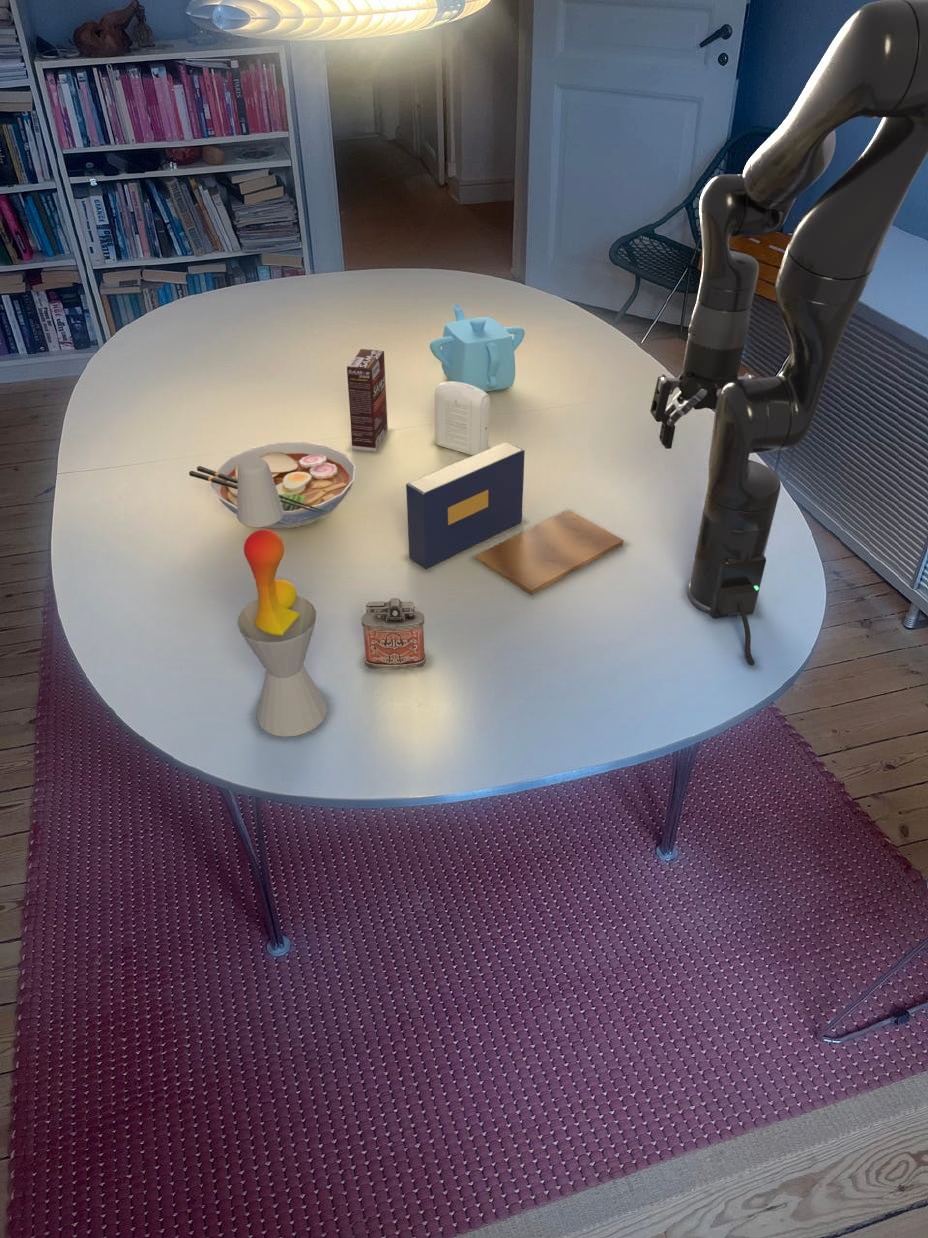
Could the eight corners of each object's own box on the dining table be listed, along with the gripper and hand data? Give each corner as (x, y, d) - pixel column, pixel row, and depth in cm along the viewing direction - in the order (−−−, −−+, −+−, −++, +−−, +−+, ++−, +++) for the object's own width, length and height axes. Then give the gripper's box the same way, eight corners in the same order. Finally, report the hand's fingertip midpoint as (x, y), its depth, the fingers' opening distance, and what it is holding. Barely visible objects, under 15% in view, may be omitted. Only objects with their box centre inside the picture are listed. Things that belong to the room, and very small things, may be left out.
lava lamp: (306, 745, 114) (268, 492, 92) (241, 726, 117) (189, 475, 95) (340, 698, 121) (313, 450, 99) (278, 680, 123) (238, 436, 102)
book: (504, 512, 156) (506, 440, 148) (522, 522, 153) (525, 449, 145) (408, 558, 145) (405, 483, 137) (425, 569, 143) (423, 494, 135)
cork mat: (567, 513, 155) (568, 509, 155) (623, 544, 148) (623, 540, 148) (476, 559, 145) (476, 555, 145) (531, 594, 138) (531, 590, 137)
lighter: (425, 653, 128) (423, 593, 121) (425, 669, 125) (423, 609, 119) (365, 654, 127) (360, 594, 121) (364, 671, 125) (359, 610, 119)
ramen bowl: (392, 502, 158) (389, 459, 153) (306, 571, 143) (300, 525, 137) (274, 465, 168) (268, 423, 163) (183, 526, 153) (173, 481, 148)
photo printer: (492, 449, 173) (493, 385, 165) (481, 459, 170) (481, 394, 162) (443, 436, 177) (442, 373, 169) (431, 445, 174) (430, 382, 166)
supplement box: (377, 452, 172) (371, 369, 162) (351, 450, 173) (344, 367, 163) (389, 431, 178) (385, 349, 169) (364, 428, 179) (359, 347, 169)
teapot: (532, 377, 197) (534, 313, 189) (495, 408, 186) (496, 341, 178) (455, 360, 204) (455, 298, 196) (415, 388, 193) (413, 323, 185)
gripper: (674, 347, 123) (654, 459, 133) (779, 345, 125) (752, 456, 135) (657, 326, 129) (640, 435, 139) (757, 324, 131) (733, 431, 140)
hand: (695, 445), depth 137 cm, fingers open, 8 cm apart
